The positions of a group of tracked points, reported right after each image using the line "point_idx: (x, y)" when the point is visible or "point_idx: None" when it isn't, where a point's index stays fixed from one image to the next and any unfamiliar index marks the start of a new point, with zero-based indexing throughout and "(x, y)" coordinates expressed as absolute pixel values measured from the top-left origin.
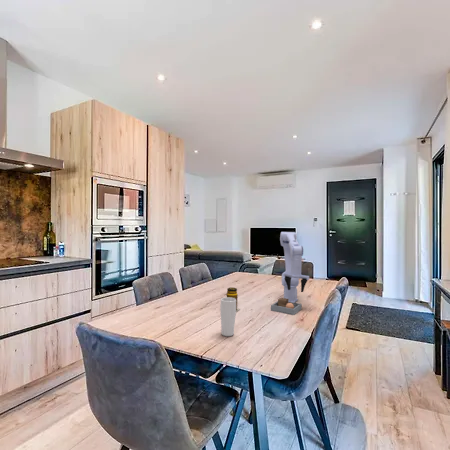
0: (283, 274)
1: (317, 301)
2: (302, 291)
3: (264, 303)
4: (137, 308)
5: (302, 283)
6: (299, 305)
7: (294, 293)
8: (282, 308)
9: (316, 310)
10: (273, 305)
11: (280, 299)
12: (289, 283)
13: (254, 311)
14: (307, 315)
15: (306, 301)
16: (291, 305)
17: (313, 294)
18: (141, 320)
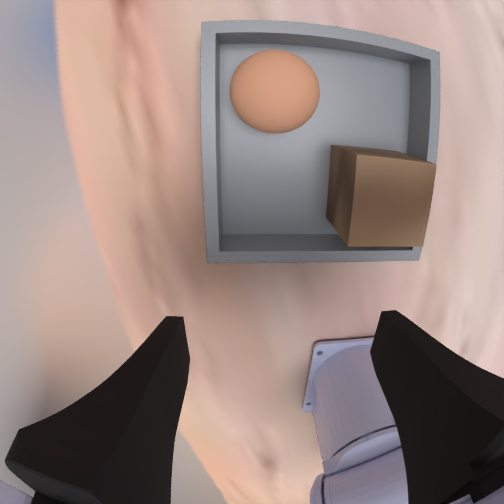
0: None
1: (199, 429)
2: (160, 325)
3: (486, 214)
4: None
5: (95, 416)
6: (203, 195)
7: (328, 412)
8: (327, 29)
9: (113, 278)
10: (419, 46)
11: (415, 168)
12: (417, 403)
13: (474, 3)
14: (112, 108)
15: (250, 409)
16: (248, 63)
17: (259, 480)
18: None
